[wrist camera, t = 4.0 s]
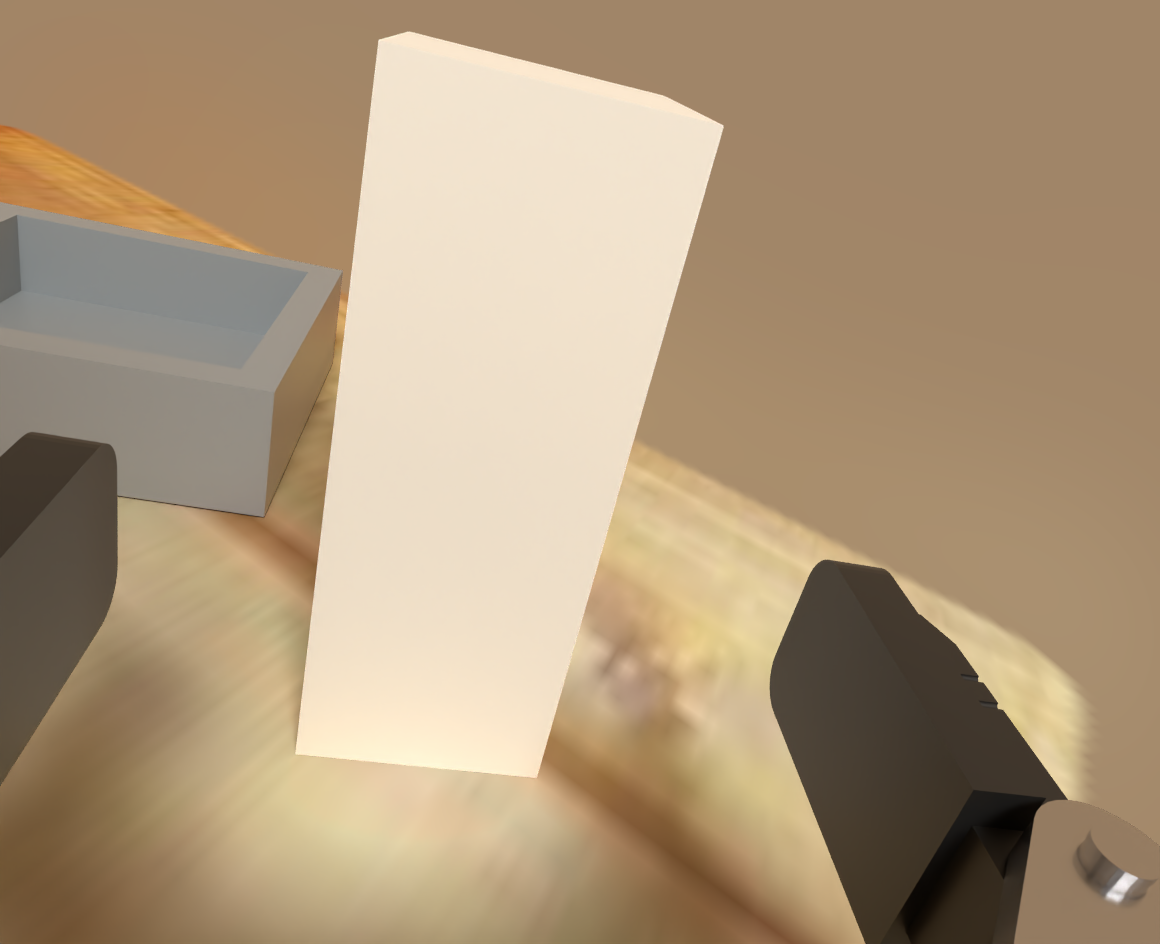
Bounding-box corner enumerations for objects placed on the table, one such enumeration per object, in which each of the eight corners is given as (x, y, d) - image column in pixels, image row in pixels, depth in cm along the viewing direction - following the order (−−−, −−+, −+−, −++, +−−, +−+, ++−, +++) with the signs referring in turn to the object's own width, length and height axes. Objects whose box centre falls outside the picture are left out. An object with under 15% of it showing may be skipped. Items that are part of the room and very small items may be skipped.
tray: (-227, 445, 20) (-255, 301, 19) (4, 304, 30) (-2, 201, 28) (263, 517, 22) (274, 392, 21) (332, 363, 32) (343, 270, 31)
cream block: (294, 754, 16) (378, 40, 11) (333, 606, 20) (408, 32, 15) (536, 777, 17) (723, 125, 12) (528, 631, 21) (664, 96, 16)
